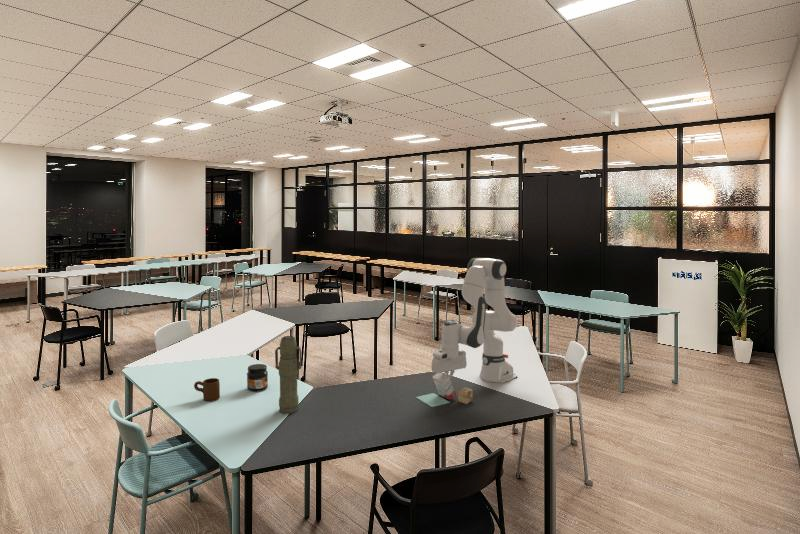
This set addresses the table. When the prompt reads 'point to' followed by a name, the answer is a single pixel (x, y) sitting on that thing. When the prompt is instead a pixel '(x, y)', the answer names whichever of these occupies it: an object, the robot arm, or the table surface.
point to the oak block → (465, 395)
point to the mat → (432, 400)
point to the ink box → (444, 385)
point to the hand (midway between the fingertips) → (449, 378)
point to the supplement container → (257, 377)
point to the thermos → (288, 374)
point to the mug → (209, 389)
